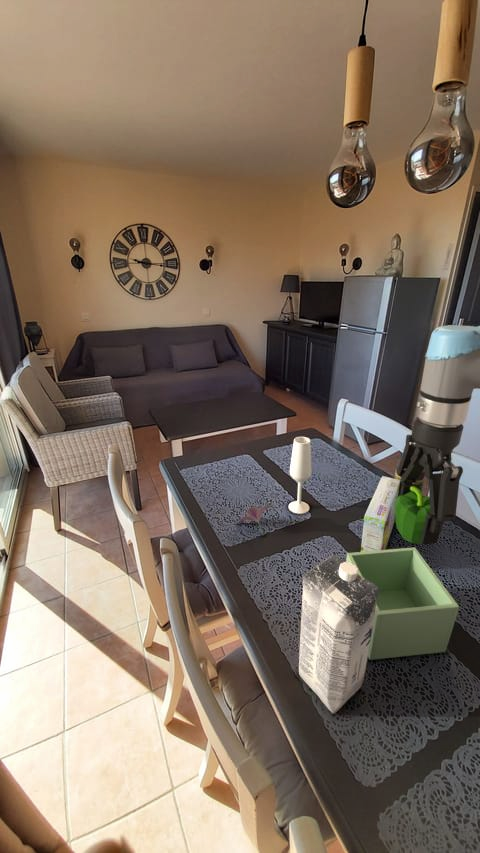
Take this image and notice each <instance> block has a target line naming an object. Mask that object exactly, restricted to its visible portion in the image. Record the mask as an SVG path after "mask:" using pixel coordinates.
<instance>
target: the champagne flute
mask: <svg viewBox="0 0 480 853" xmlns="http://www.w3.org/2000/svg"><path fill="white" fill-rule="evenodd" d="M311 447H312V446H311V439H310V438H309V437H306V436H296V437H295V438H294V439H293V444H292V450H291V451H292V452H291V458H290V465H289V475H290V477H291V478H292V479H293V480H294V481H296V482H297V500H295V501H291V502H290V503H289V504H288V509H289V511H290V512H292V513H294V514H297V515H298V514H299V515H302V514H305V513H307V512H309V511H310V506H309V504H308V503H306V502H304V501H302V489H303V483H304V482H306V481H307V480H309V479H310V478H311V476H312V474H313V471H312V453H311V452H312V451H311V450H312V449H311Z"/></svg>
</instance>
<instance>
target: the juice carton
mask: <svg viewBox="0 0 480 853" xmlns="http://www.w3.org/2000/svg"><path fill="white" fill-rule="evenodd" d="M357 573H358V569H357V568H356V566H355V565H353V564H352V563H350V562H349V563H348V562H346V561H343V560H342V559H341V558H339V557H338V556H337V555H335V554H332V555H330V556H328V557H327V558H326V559H324V560H323V561H322V562H321V563H319V564H318V565H316V566H315V567H313V568H311V569H310V570H308V571H306V572H304V573H302V599H301V600H302V601H301V613H300V614H301V615H300V633H299V634H300V636H299V649H298V650H299V652H298V675H299V676H300V678H301V679H302V680H303V681H304V682H305V684H306V685H307V686H308V687H309V688H310V689H311V690H312V691H313V692H314V693H315V694H316V696H317V697H318V699H320V701H321V702H322V703H323V704H324V706H325V707H326V708H327V709H328V710H329V711H330V713H331V714H332V715H333V714H336V713H337V712H338V711H340V709H341V708H342V707H343V706H344V705H345V704H346V703H347V702H348V700H349V699H351V698H352V697H353V696H354V695H355V694H356V693H357V692H358V691H359V690H360V689H361V688H362V686H363V685H364V684H363V683H364V680H365V675H366V674H365V673H366V667H367V662H368V651H369V646H370V640H371V634H372V628H373V622H374V616H375V609H376V601H377V596H378V587H377V586H376V585H375V584H373V583H372V582H370V581H368V580H367V579H365V578H363V577H362V576H360V575H358V574H357Z"/></svg>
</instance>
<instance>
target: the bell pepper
mask: <svg viewBox="0 0 480 853" xmlns="http://www.w3.org/2000/svg"><path fill="white" fill-rule="evenodd" d="M410 490H411V491H414V492H415V493H414V492H409V493H407V494H405V495H400V496H399V497H398V498H397V499H396V503H395V525H396V529H397V531H398V532H399V534H400V536H401V537H402V538H403V540H405V541H407V542H408V543H410V544H415V545H422V543H421V542H420V541H421V537H422V532H423V528H424V524H425V519H426V515H427V513H430V496H426V495H425V496H424V494H423V492H422V493H421V491H420V490H419V489H418V488H416V487H414V486H412V487H410ZM437 511H438V510H437Z"/></svg>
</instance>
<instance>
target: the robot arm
mask: <svg viewBox="0 0 480 853" xmlns="http://www.w3.org/2000/svg"><path fill="white" fill-rule="evenodd" d="M474 389H475V390H476V389H477V390H478V389H479V390H480V325H478V326H475V325H474V326H473V325H461V324H447V325H441V326H438V327H436V328H435V329H434V330H433V331H432V332H431V335H430V338H429V342H428V346H427V351H426V353H425V360H424V366H423V373H422V379H421V384H420V390H419V396H418V401H417V403H416V411H415V415H416V417H415V418H414V419H413V425H412V430H411V434H406V436H405V446H404V448H403V452H402V455H401V457H400V458H401V460H400V464H399V467H398V470H397V475H398V476H401V483H402V487H401V492H400V495H405V494H407V493H409V492H414V491H411V490H410V487H412V486H414V487H416V488H417V486H416V484H412V483H418V482H417V481H418V480H417V478H418V477H419V476H420V474H421V473H422V471H423V470H424V468H425V478H427V480H428V492H429V493H428V494H429V495H428V497H430V513H427V515H426V519H425V524H424V528H423V532H422V537H421V541H420V542H421V543H422V544H421V545H433V544H434V545H435V544H438V540H439V536H440V533H441V532H442V530H443V526H444V522H453V521H456V517H457V516H456V515H457V508H458V507H457V506H458V500H459V498H458V497H459V488H460V480H461V477H462V476H463V473H464V472H463V471H464V468H463V467H462V466H461V465H457V466H456V465H455V464H454V463H453V462H452V459H453V458H452V451H453V450H454V449H455V448H457V447H458V446H459V445H460V443H461V440H462V435H463V431H464V425H463V424H465V423H466V421H467V416H468V413H469V410H470V409H469V408H470V404H471V400H472V396H473V391H474ZM404 469H406V470H404ZM414 493H415V492H414ZM437 510H438V511H437Z"/></svg>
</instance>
